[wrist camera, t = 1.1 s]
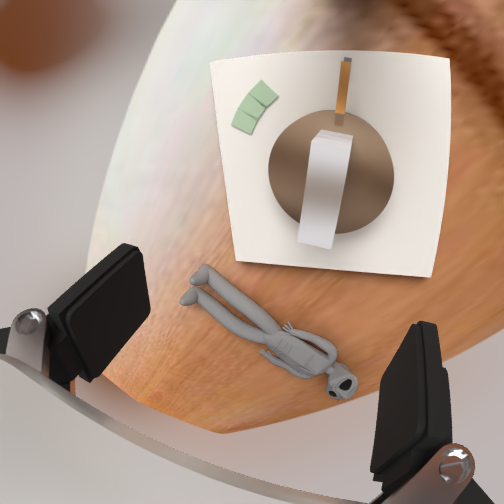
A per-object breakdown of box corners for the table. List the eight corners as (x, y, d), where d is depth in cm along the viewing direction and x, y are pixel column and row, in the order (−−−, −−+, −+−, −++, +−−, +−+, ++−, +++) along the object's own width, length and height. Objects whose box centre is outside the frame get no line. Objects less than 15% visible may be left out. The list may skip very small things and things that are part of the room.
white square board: (444, 59, 19) (450, 58, 17) (428, 269, 28) (431, 278, 27) (216, 62, 25) (208, 62, 24) (241, 253, 35) (235, 261, 34)
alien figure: (191, 271, 34) (375, 389, 33) (211, 249, 37) (378, 359, 37) (171, 313, 38) (334, 414, 37) (190, 291, 42) (340, 386, 41)
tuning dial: (377, 235, 27) (378, 280, 21) (269, 210, 29) (243, 248, 23) (410, 77, 19) (427, 75, 14) (284, 55, 22) (256, 47, 16)
